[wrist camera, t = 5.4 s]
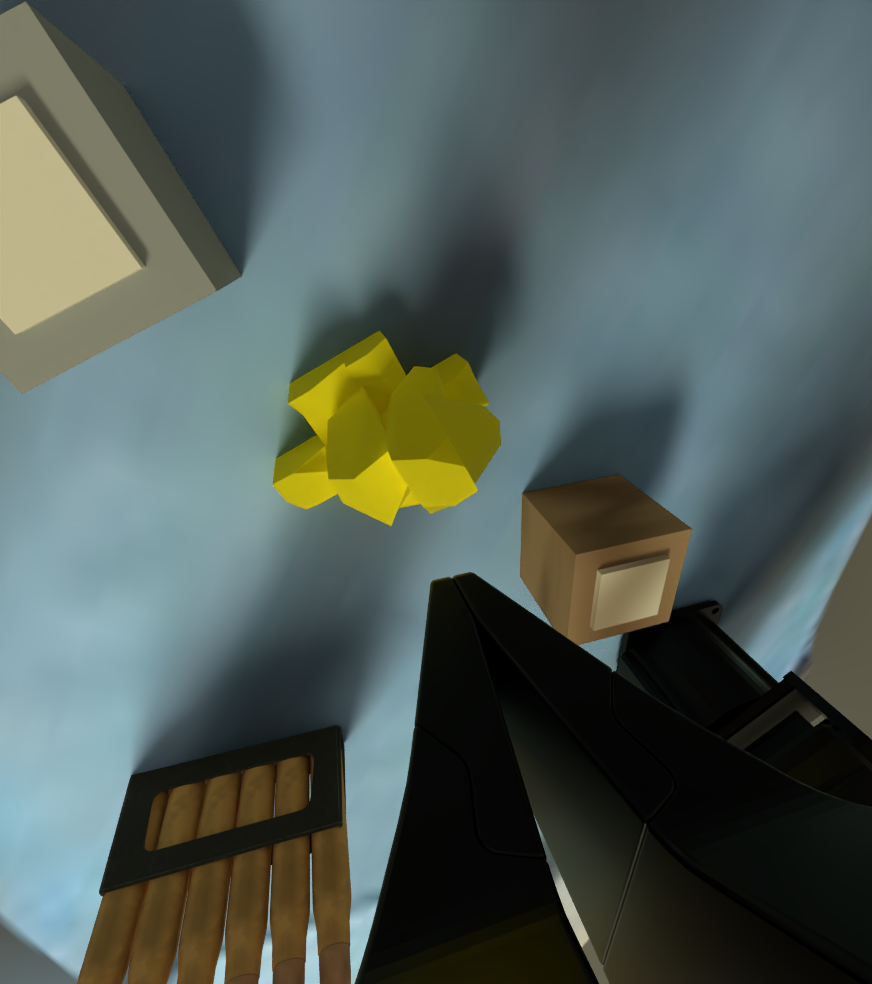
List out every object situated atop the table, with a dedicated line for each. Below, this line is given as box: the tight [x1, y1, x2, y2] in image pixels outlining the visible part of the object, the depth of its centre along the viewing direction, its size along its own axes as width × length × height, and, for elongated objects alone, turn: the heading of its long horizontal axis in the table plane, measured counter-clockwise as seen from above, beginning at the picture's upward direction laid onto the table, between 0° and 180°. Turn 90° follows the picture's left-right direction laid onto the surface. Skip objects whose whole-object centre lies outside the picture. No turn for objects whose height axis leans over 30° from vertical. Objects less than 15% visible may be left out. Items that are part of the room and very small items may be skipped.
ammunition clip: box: [77, 725, 351, 984], centre depth 20 cm, size 11×2×12 cm, turn 92°
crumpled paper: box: [273, 330, 501, 526], centre depth 15 cm, size 6×8×8 cm
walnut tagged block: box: [520, 474, 692, 645], centre depth 21 cm, size 5×5×5 cm
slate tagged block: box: [0, 1, 241, 394], centre depth 11 cm, size 5×5×5 cm
